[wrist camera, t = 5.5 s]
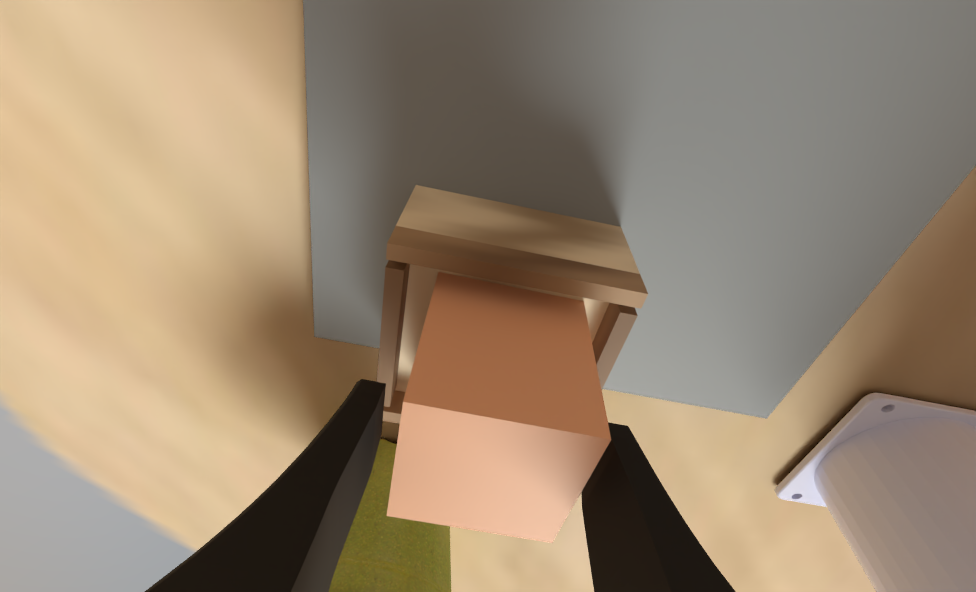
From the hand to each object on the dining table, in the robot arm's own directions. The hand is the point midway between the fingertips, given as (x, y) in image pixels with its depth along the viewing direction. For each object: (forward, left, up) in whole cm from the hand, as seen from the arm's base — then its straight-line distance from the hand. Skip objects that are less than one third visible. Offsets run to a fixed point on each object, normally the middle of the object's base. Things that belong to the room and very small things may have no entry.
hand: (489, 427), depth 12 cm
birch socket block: (0, 0, -6) cm, 6 cm away
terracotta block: (0, 0, -3) cm, 3 cm away
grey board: (-3, -5, -7) cm, 9 cm away
